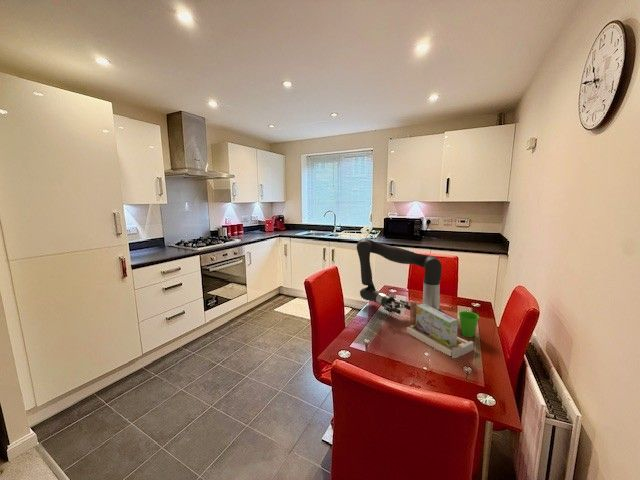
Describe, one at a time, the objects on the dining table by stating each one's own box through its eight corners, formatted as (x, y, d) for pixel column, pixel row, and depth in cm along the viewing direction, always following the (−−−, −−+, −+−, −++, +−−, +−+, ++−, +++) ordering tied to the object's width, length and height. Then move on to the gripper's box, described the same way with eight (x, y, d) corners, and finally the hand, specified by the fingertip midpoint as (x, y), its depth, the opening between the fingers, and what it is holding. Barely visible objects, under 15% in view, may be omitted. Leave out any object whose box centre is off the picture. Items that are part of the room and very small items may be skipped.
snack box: (414, 331, 140) (415, 304, 137) (423, 329, 142) (424, 302, 140) (448, 353, 121) (450, 322, 118) (457, 349, 123) (459, 319, 120)
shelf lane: (424, 326, 145) (424, 319, 145) (473, 350, 122) (473, 342, 121) (406, 333, 139) (406, 325, 138) (454, 360, 116) (455, 351, 115)
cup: (476, 342, 128) (478, 320, 127) (455, 336, 134) (457, 316, 132) (479, 334, 136) (480, 313, 134) (459, 329, 141) (460, 309, 139)
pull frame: (417, 323, 148) (418, 299, 145) (466, 348, 123) (468, 320, 121) (403, 328, 143) (404, 304, 140) (452, 355, 118) (453, 326, 116)
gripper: (376, 297, 157) (396, 307, 143) (394, 292, 163) (415, 301, 149) (376, 309, 158) (396, 320, 144) (394, 303, 165) (414, 313, 151)
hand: (405, 310), depth 147 cm, fingers open, 8 cm apart
